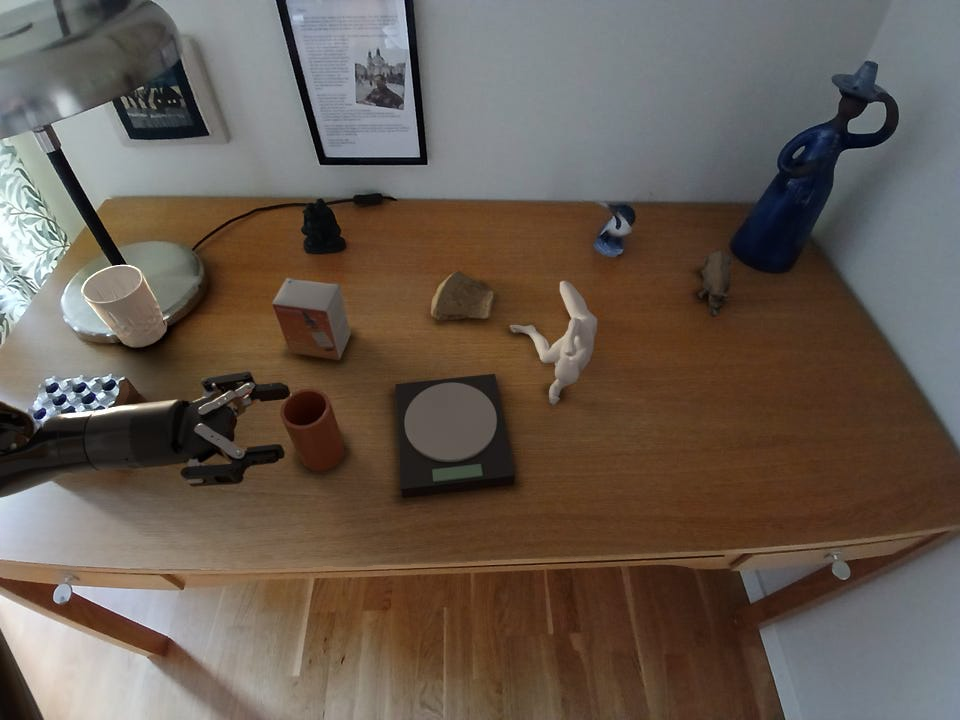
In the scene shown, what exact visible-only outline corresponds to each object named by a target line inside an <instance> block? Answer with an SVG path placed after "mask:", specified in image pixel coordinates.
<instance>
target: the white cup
mask: <svg viewBox="0 0 960 720" xmlns="http://www.w3.org/2000/svg"><path fill="white" fill-rule="evenodd" d="M152 291H153V290H152V289H151V287H150V286H149V284H148V281H147V280H146V278H145V276H144V274H143V272H142V270H140V269H139V268H137V267H135V266H132V265H127V264H120V265H113V266H109V267H106V268H103V269H101V270H99V271H97V272H95V273H94V274H92V275H91V276H90V277H88V278H87V280H85V282H84V284H83V285H82V288H81V295H82V297H83V299H84V300H85V301H86V303H88V305H89V306H90V307H91V308H92V310H93V311H94V312H95V313H96V314H97V315H98V317H99V318H100V319H101V321H102V322H104V324H105V325H106V326H107V327H108V328H109V329H110V331H112V332H113V333H114V334H115V336H116V337H117V338H118V339H119V340H120V341H121V343H122V344H123V345H125V346H128V347H130V348H144V347H146V346H147V347H148V346H150V345H153V344H154V343H156V342H157V341H159V340H160V339H162V337H163V336H164V335H165V333H166V332H167V329H168V322H167V319H165V325H164V323H163V316H164V314H163V312H162V310H161V307H160V304H159V303H158V300H157V298H156V297H155V294H154V293H153V292H152Z"/></svg>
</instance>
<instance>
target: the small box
mask: <svg viewBox="0 0 960 720" xmlns="http://www.w3.org/2000/svg"><path fill="white" fill-rule="evenodd" d="M342 294H343V293H342V290H341V285H340V284H337V283H327V282H318V281H311V280H304V279H297V278H291V277H286V278H285V280H284V281H283V284H282V285H281V286H280V288H279V290H278V292H277V294H276V296H275V297H274V299H273V301H272V303H271V306H272V309H273V312H274V314H275V318H276V320H277V322H278V326H279V329H280V330H281V334H282V336H283V339H284V342H285V345H286V348H287V350H288V352H289V354H292V355H293V354H294V355H303V356H309V357H317V358H322V359H329V360H333V361H334V360H335V361H340V360H341V358H342V357H343V353H344V350H345V349H346V347H347V344H348V341H349V339H350V336H351V334H352V333H351V328H350V324H349V319H348V315H347V310H346V307H345V303H344V298H343V295H342Z"/></svg>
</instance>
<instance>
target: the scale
mask: <svg viewBox="0 0 960 720" xmlns="http://www.w3.org/2000/svg"><path fill="white" fill-rule="evenodd" d="M496 376H497V375H496V373H487V374H479V375H469V376H459V377H449V378H440V379H439V378H438V379H430V380H420V381H411V382H399V383H395V384H394V388H395V390H394V391H395V408H396V409H395V410H396V428H397V444H398V445H397V446H398V447H397V448H398V465H399V466H398V467H399V484H400V487H399V488H400V493H401V497H402V499H408V498H417V497H427V496H433V495H441V494H442V495H443V494H451V493H457V492H466V491H467V492H468V491H474V490H484V489H491V488H500V487H506V486H514V485H515V481H516V472H515V471H516V470H515V466H514V462H513V457H512V452H511V447H510V442H509V437H508V431H507V426H506V421H505V416H504V411H503V407H502V402H501V396H500V391H499V386H498V381H497V377H496Z"/></svg>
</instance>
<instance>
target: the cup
mask: <svg viewBox="0 0 960 720" xmlns="http://www.w3.org/2000/svg"><path fill="white" fill-rule="evenodd" d="M279 416H280V418H281V421H282V423H283V426H284V428H285V429H286V432H287V433H288V436H289V438H290V440H291V442H292V444H293V446H294V448H295V451H296V452H297V454H298V457H299V460H300V461H301V463H302V464H303V466H304V467H306V468H307V469H309V470H311V471H315V472H324V471H327V470H330V469H332V468H334V467H335V466H336V465H338V464H339V463H340V462H341V460H342V459H343V457H344V455H345V451H346V446H345V441H344V438H343V436H342V432H341V429H340V427H339V424H338V421H337V418H336V415H335V412H334V409H333V405H332V403H331V401H330V398H329V396H328V395H327V394H326V393H325V392H323V391H322V390H320V389H317V388H312V387H311V388H301V389H299V390H297V391H294V392H293V393H290V396H289V397H287V398H286V399H284V400H283V402H282V404H281V405H280V411H279Z"/></svg>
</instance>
